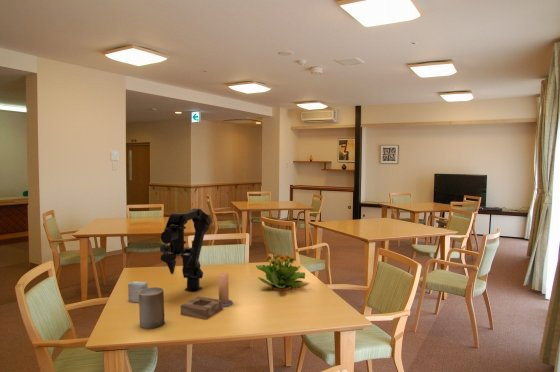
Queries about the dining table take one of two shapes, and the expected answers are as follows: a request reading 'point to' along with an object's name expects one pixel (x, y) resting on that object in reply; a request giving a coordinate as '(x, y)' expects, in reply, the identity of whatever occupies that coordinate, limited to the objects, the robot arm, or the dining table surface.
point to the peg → (224, 288)
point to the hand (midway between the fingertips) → (178, 271)
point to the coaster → (228, 304)
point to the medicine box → (135, 290)
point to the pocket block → (201, 307)
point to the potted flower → (281, 273)
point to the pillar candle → (151, 307)
